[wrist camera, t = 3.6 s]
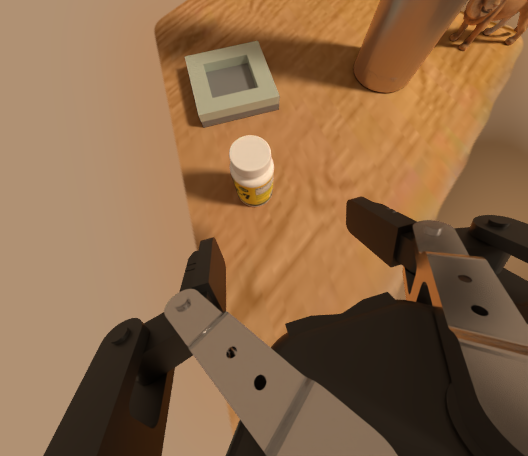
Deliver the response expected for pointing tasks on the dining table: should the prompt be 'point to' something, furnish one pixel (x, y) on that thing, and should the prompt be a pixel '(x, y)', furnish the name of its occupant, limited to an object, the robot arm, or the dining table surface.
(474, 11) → the lion figurine
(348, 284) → the dining table surface
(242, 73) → the recess plate
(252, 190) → the supplement bottle
